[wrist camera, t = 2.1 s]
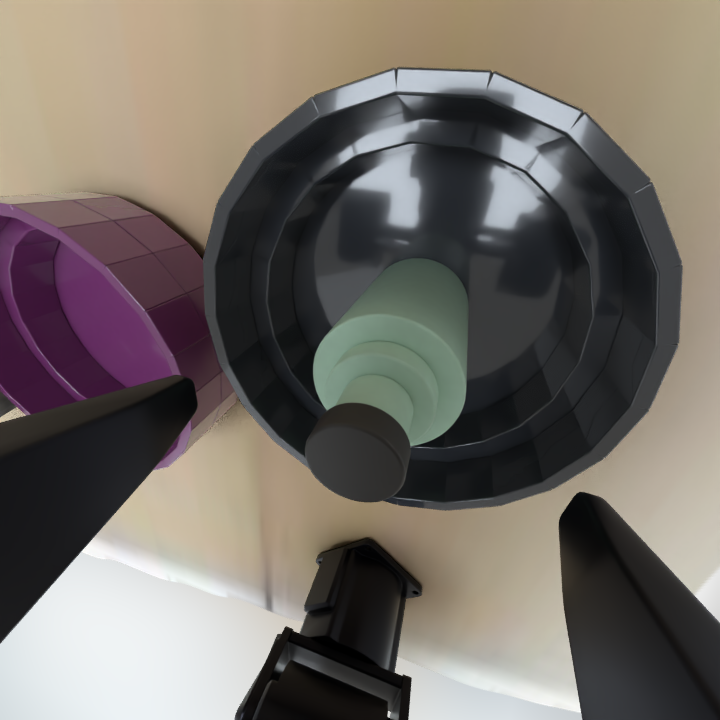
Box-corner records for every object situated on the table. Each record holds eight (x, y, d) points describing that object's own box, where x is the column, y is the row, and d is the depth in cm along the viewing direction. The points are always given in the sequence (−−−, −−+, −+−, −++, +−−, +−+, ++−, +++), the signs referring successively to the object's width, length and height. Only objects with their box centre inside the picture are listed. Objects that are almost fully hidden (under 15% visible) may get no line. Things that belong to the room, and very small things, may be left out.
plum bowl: (299, 345, 18) (245, 399, 14) (187, 445, 26) (130, 500, 22) (80, 119, 16) (-69, 100, 11) (27, 305, 23) (-74, 335, 19)
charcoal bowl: (688, 332, 13) (798, 414, 9) (400, 464, 21) (381, 543, 16) (453, -21, 10) (439, -163, 6) (223, 283, 18) (143, 319, 13)
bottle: (490, 316, 14) (513, 505, 6) (410, 367, 16) (352, 553, 8) (424, 234, 13) (352, 330, 5) (349, 300, 16) (223, 436, 8)
